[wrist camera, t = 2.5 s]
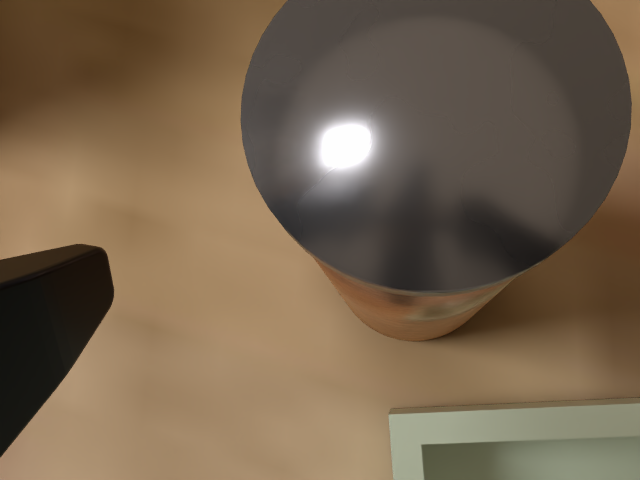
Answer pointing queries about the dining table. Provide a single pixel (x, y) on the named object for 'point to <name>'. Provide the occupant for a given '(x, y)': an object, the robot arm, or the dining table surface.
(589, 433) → the tote
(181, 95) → the dining table surface
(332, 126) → the coffee tin
